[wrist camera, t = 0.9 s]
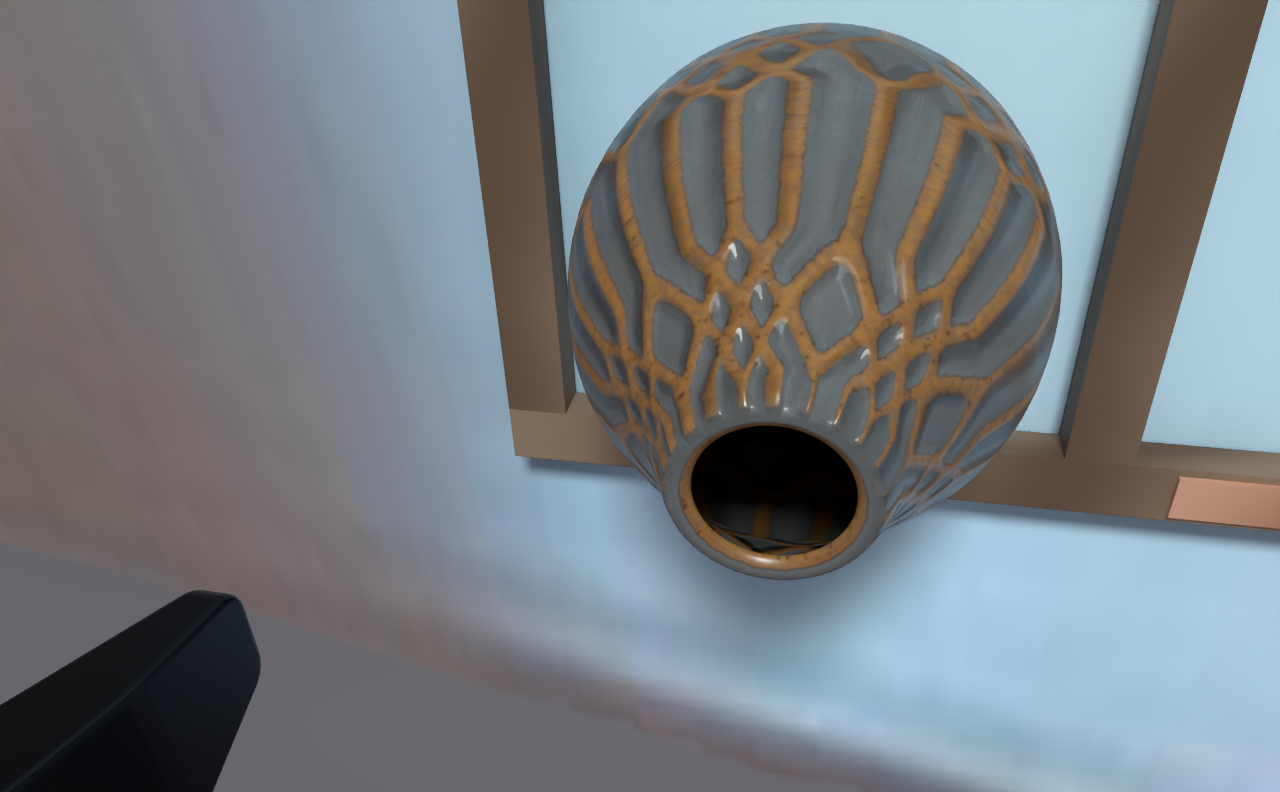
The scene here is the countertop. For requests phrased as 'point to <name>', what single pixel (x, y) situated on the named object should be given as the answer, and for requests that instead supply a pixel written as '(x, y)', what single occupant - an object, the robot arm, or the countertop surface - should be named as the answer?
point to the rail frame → (1115, 325)
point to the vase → (813, 291)
